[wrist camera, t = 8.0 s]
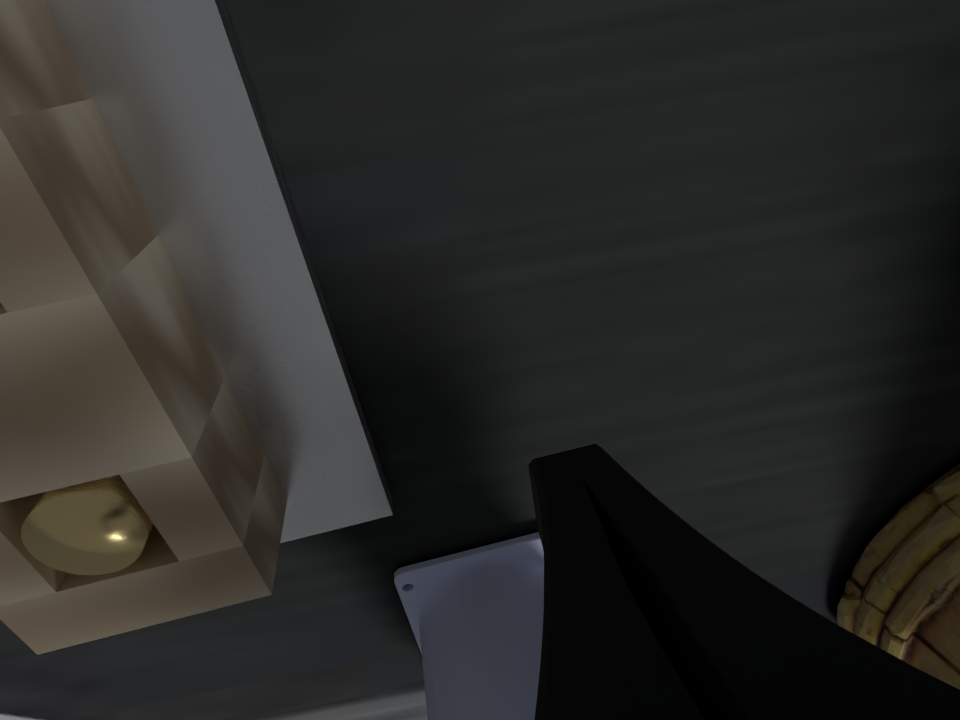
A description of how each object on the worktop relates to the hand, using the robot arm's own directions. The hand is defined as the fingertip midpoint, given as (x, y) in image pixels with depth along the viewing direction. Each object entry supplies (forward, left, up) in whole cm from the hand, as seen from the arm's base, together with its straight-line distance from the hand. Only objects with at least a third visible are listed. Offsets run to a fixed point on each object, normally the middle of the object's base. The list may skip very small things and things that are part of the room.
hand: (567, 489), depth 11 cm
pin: (-2, +12, -8) cm, 15 cm away
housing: (+2, +12, -9) cm, 15 cm away
